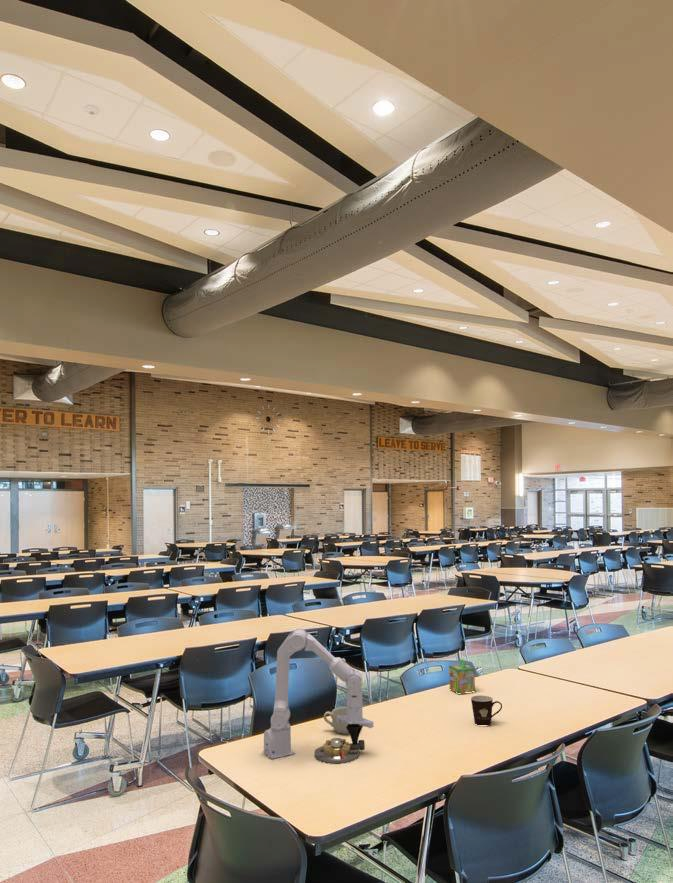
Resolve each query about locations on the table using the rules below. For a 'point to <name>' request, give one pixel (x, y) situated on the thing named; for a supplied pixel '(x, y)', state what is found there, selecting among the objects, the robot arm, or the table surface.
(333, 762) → the cap plate
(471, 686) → the green patterned box
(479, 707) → the coffee mug
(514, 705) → the table surface
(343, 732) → the teacup
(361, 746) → the gold handled ring
